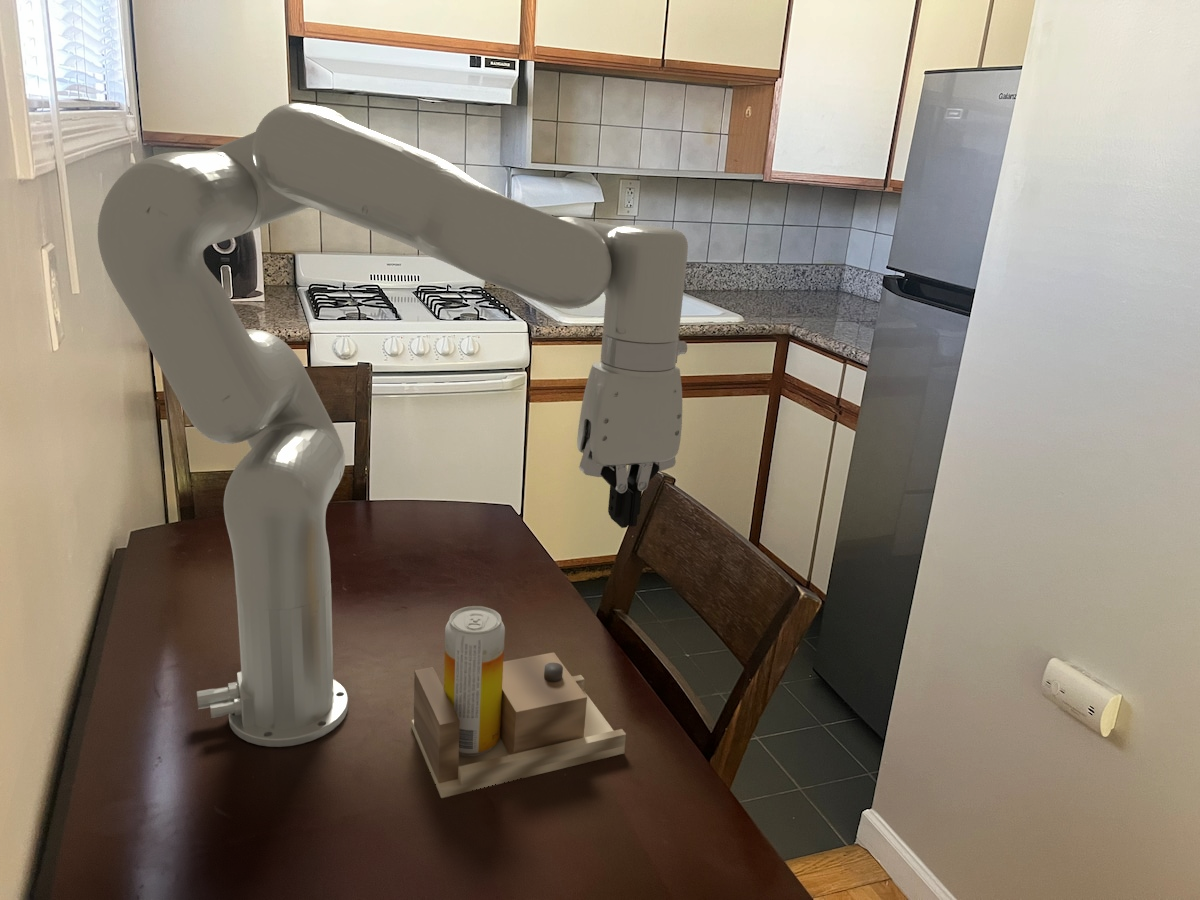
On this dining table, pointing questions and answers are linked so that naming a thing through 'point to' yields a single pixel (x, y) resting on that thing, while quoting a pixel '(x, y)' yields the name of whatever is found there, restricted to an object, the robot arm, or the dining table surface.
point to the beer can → (475, 676)
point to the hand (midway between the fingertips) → (622, 521)
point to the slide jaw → (540, 704)
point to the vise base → (497, 766)
